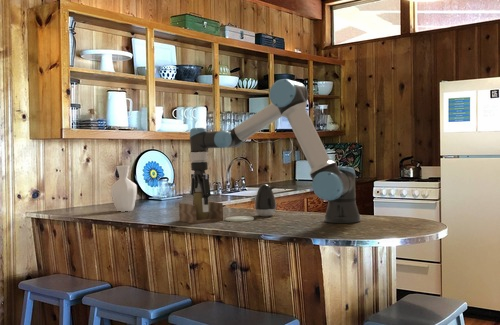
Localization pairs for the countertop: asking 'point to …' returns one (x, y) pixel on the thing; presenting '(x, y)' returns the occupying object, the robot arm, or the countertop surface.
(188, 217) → the holder
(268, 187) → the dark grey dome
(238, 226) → the countertop surface
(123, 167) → the vase
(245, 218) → the plate
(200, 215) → the squeeze bottle
